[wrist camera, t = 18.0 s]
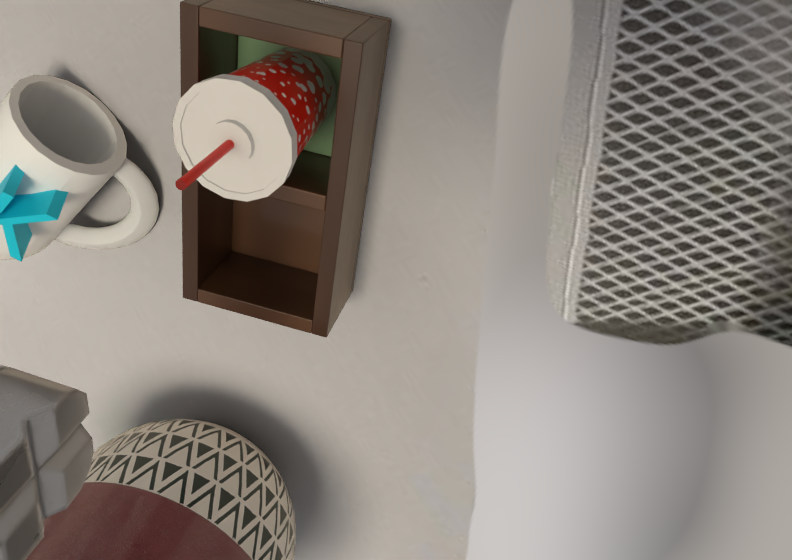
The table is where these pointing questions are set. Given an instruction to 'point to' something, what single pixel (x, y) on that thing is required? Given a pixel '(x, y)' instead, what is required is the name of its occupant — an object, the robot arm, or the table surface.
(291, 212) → the holder
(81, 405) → the robot arm
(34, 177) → the mug
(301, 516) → the table surface
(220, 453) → the planter
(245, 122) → the beverage cup
